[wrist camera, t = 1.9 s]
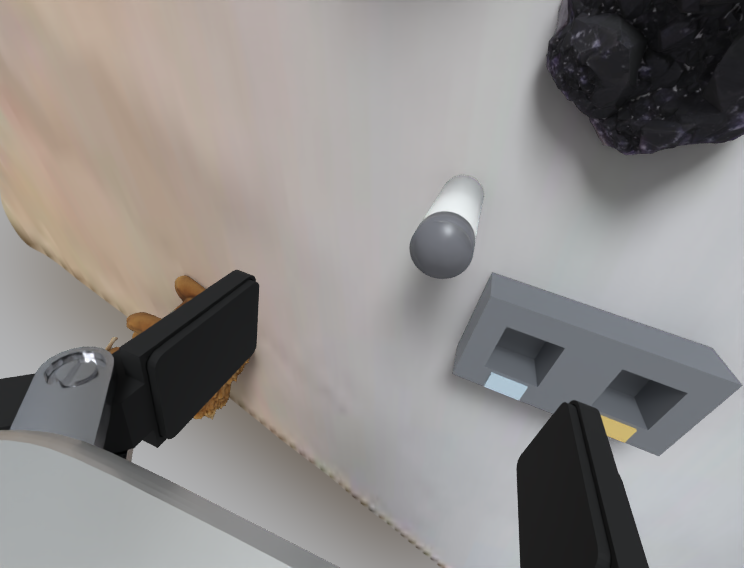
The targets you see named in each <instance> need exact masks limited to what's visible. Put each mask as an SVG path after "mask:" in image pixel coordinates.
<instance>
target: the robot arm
mask: <svg viewBox="0 0 744 568" xmlns="http://www.w3.org/2000/svg"><path fill="white" fill-rule="evenodd" d="M258 301H259V284H258V283H257V282H256V279H255V277H254V276H252V275H250V274H247V273H245V272H242V271H239V270H235V271H233V272H231V273H230V274H228V275H227V276H225V277H224V278H222V279H221V280H219V281H218V282H216V283H215V284H213V285H212V286H210V287H209V288H207V289H206V290H204V291H203V292H201V293H200V294H198V295H197V296H195V297H194V298H192V299H191V300H189V301H188V302H186V303H185V304H183V305H182V306H180V307H179V308H177V309H176V310H175V311H173V312H172V313H170V314H169V315H167V316H166V317H164V318H163V319H161V320H160V321H158V322H157V323H155V324H154V325H152V326H151V327H149V328H148V329H146V330H145V331H143V332H142V333H140V334H139V335H137V336H136V337H134V338H133V339H131V340H130V341H128V342H127V343H125V344H124V345H122V346H121V347H119V349H118V350H117V351H116V352H114V353H113V354H111V353H110V352H109V351H107V350H105V349H103V348H98V347H79V348H74V349H70V350H67V351H64V352H61V353H59V354H57V355H55V356H53V357H51V358H49V359H48V360H47V361H46V362H45V363H43V364H42V365H41V366H40V368H39V369H38V370H37V372H36V373H35V374H30V375H23V376H17V377H10V378H4V379H0V568H340V567H338V566H336V565H334V564H332V563H330V562H328V561H326V560H324V559H322V558H320V557H318V556H316V555H314V554H313V553H311V552H309V551H307V550H305V549H303V548H301V547H299V546H297V545H295V544H293V543H291V542H289V541H287V540H285V539H283V538H281V537H279V536H277V535H275V534H274V533H272V532H270V531H268V530H266V529H264V528H262V527H260V526H258V525H256V524H254V523H252V522H250V521H248V520H246V519H244V518H242V517H240V516H238V515H236V514H234V513H232V512H230V511H228V510H226V509H224V508H222V507H220V506H218V505H217V504H214V503H212V502H211V501H209V500H206V499H205V498H203V497H201V496H199V495H197V494H195V493H193V492H191V491H189V490H187V489H185V488H183V487H181V486H179V485H177V484H175V483H173V482H171V481H169V480H167V479H165V478H163V477H161V476H159V475H157V474H155V473H153V472H150V471H149V470H146V469H144V468H142V467H140V466H138V465H136V464H134V463H132V462H131V460H132V453H133V448H135V446H136V445H138V443H140V442H141V441H142V440H143V441H146V442H147V443H149V444H151V445H153V446H155V447H157V448H158V447H159V446H160V445H161V444H162V443H163V442H164V441H165V440H166V439H172V438H173V437H175V436H176V435H177V434H178V433H179V432H180V431H181V430H182V429H183V428H184V427H185V426H186V424H187V423H188V422H189V421H190V420H191V419H192V418H193V417H194V416H195V415H196V414H197V413H198V412H199V411H200V410H201V409H202V408H203V406H204V405H205V404H206V403H207V402H208V401H209V400H210V399H211V398H212V397H213V396H214V395H215V394H216V393H217V392H218V391H219V390H220V388H221V387H222V386H223V385H224V384H225V383H226V382H227V381H228V380H229V379H230V378H231V377H232V376H233V375H234V374H235V373H236V372H237V370H238V369H239V368H240V367H241V366H242V365H243V364H244V363H245V362H246V361H247V360H248V359H249V358H250V357H251V356H252V354H253V353H254V351H255V348H256V343H257V322H258ZM517 492H518V518H519V544H520V568H649V566H648V563H647V560H646V556H645V553H644V550H643V547H642V544H641V540H640V537H639V534H638V531H637V527H636V524H635V521H634V518H633V514H632V511H631V508H630V505H629V501H628V498H627V495H626V492H625V488H624V485H623V482H622V480H621V477H620V475H619V474H618V471H617V467H616V464H615V461H614V457H613V454H612V451H611V448H610V444H609V441H608V438H607V434H606V431H605V428H604V425H603V421H602V418H601V415H600V412H599V410H598V409H597V408H594V407H592V406H589V405H587V404H584V403H581V402H579V401H576V400H572V401H570V402H569V403H566V402H563V403H562V404H561V405H560V406H559V407H558V409H557V410H556V411H555V412H554V414H553V415H552V416H551V418H550V419H549V420H548V421H547V423H546V424H545V425H544V426H543V428H542V429H541V430H540V431H539V433H538V434H537V435H536V437H535V438H534V439H533V440H532V442H531V443H530V444H529V445H528V447H527V448H526V449H525V451H524V452H523V453H522V454H521V456H520V457H519V460H518V463H517Z"/></svg>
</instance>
